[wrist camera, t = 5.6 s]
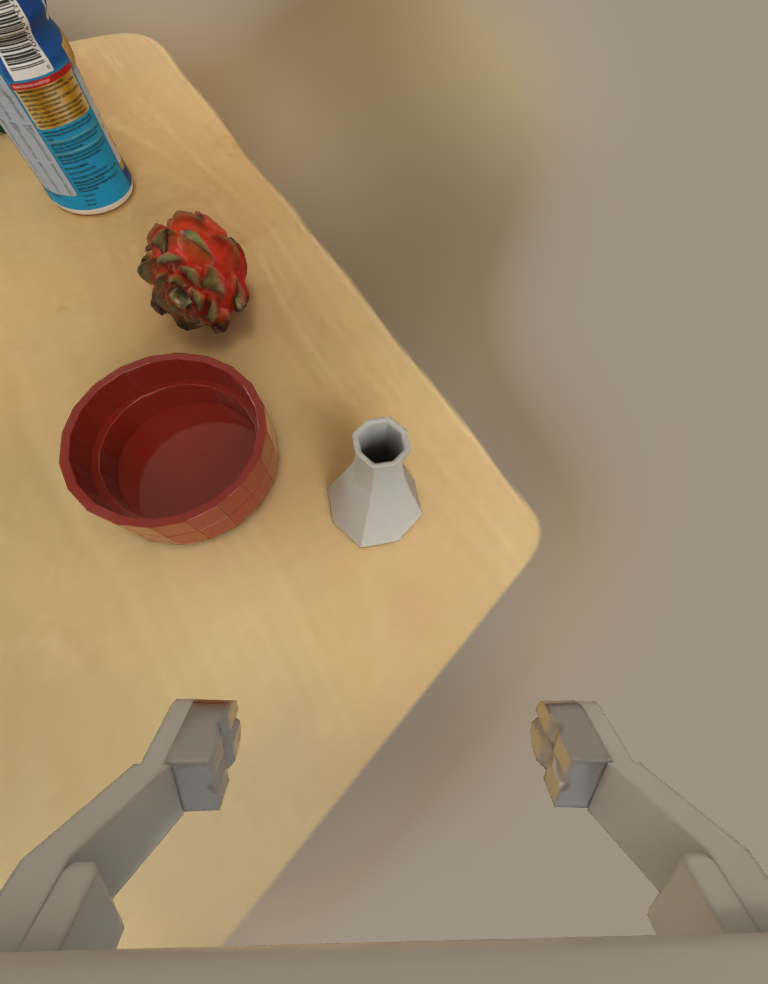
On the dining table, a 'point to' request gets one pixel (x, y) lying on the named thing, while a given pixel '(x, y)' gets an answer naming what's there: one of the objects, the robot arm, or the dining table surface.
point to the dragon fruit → (195, 272)
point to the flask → (376, 486)
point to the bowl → (170, 448)
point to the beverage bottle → (56, 114)
